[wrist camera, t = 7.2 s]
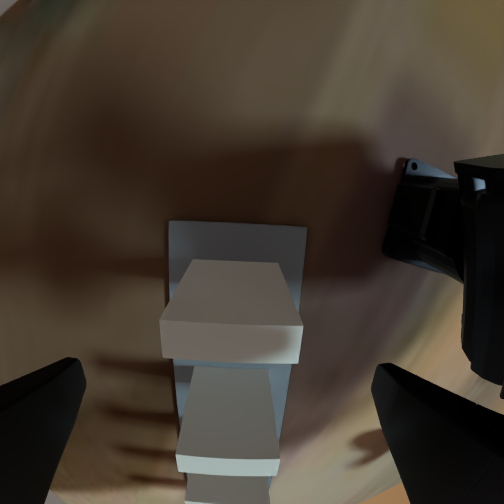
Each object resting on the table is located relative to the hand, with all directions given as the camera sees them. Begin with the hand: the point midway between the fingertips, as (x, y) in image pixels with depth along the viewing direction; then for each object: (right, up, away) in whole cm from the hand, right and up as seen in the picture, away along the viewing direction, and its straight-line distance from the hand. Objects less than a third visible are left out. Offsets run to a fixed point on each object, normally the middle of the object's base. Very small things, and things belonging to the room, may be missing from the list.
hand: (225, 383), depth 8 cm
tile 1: (-1, -5, +12) cm, 13 cm away
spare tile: (0, +2, +10) cm, 11 cm away
